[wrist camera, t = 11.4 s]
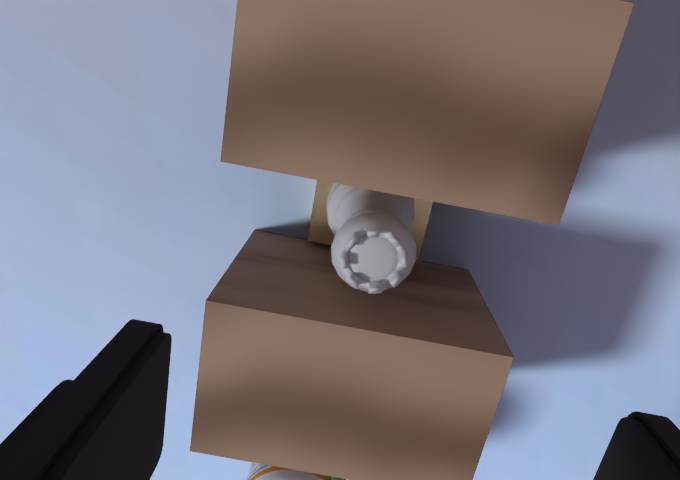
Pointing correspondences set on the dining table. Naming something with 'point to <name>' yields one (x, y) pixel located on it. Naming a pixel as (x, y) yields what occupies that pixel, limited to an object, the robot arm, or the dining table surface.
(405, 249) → the rook chess piece
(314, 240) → the gold metallic block
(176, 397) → the dining table surface
